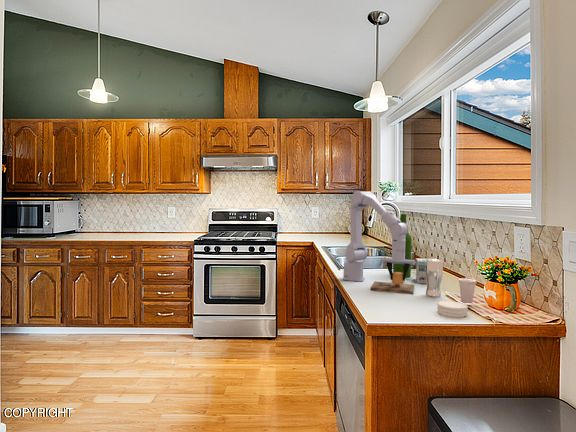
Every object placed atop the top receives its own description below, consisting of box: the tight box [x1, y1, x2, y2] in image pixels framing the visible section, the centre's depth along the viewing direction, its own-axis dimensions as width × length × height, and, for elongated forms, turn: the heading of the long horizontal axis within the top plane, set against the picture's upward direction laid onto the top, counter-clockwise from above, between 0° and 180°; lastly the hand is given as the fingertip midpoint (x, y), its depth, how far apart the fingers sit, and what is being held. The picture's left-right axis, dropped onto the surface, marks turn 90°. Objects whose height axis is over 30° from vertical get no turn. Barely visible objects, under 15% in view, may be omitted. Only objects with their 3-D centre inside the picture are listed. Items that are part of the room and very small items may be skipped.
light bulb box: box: [415, 257, 427, 284], centre depth 197 cm, size 11×7×11 cm, turn 168°
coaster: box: [436, 300, 469, 318], centre depth 142 cm, size 10×10×4 cm
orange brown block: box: [391, 271, 404, 284], centre depth 179 cm, size 5×5×4 cm
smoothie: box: [458, 268, 477, 304], centre depth 154 cm, size 6×6×14 cm
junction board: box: [369, 281, 415, 295], centre depth 179 cm, size 18×14×4 cm
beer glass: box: [425, 258, 444, 298], centre depth 168 cm, size 7×7×15 cm
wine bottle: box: [392, 213, 413, 279], centre depth 208 cm, size 9×9×32 cm
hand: (397, 279), depth 179 cm, fingers closed on orange brown block, 5 cm apart
